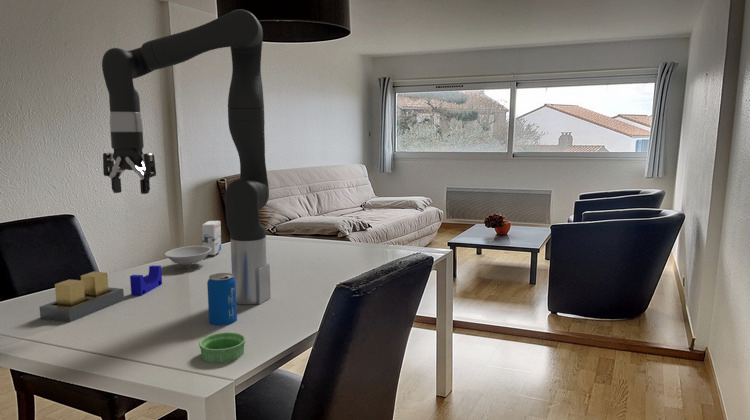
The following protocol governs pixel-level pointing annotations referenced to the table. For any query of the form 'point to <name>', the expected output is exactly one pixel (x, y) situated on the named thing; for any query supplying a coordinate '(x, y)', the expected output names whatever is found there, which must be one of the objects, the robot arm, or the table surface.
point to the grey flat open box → (81, 306)
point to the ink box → (212, 236)
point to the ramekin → (222, 340)
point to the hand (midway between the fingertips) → (131, 193)
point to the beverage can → (222, 299)
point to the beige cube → (95, 284)
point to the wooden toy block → (70, 293)
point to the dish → (188, 254)
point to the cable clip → (146, 281)
